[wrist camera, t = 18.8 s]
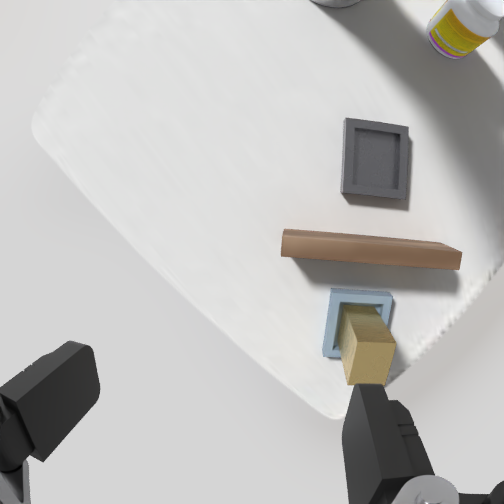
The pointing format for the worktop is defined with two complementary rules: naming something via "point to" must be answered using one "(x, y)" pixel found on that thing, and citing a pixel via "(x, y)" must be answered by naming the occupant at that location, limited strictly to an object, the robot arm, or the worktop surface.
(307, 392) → the worktop surface
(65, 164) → the worktop surface
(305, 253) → the board
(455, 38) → the supplement bottle
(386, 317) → the socket
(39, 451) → the robot arm
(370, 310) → the block
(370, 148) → the grey square flat frame
